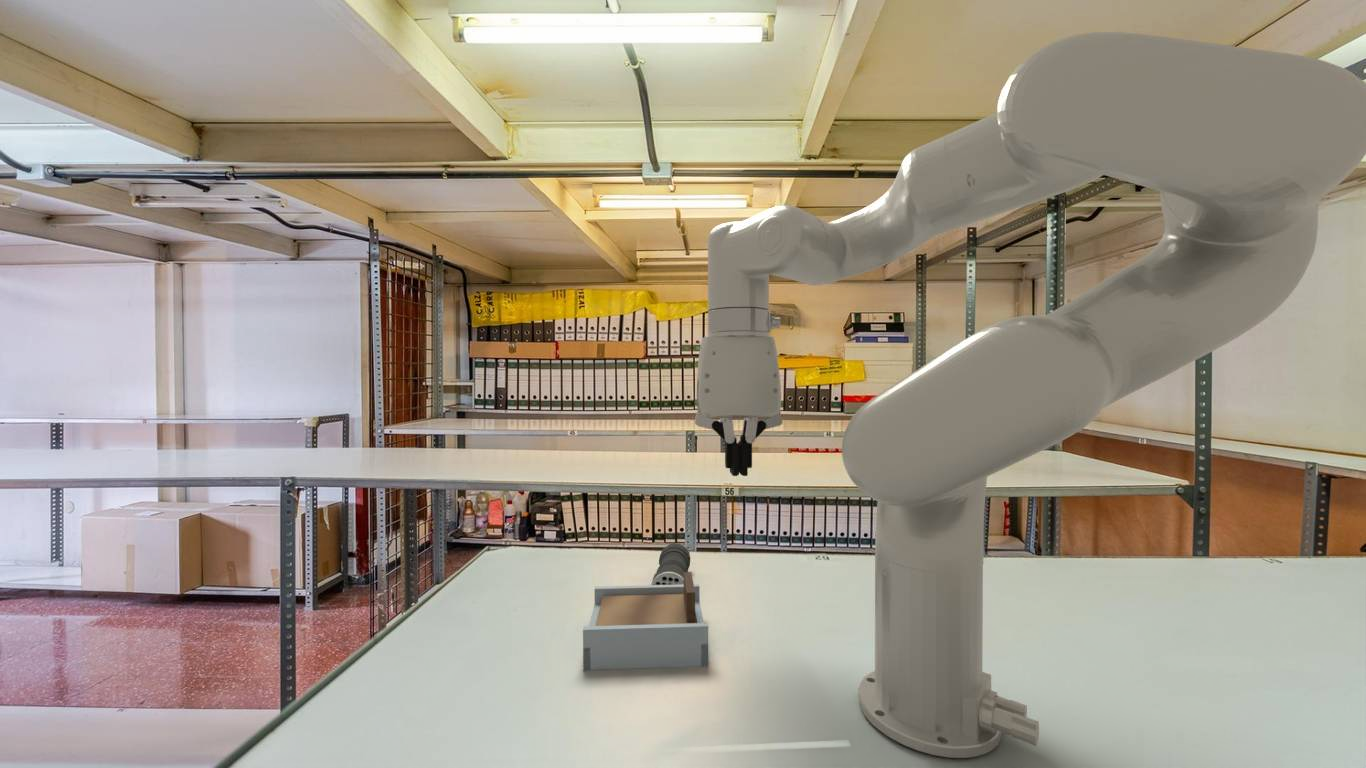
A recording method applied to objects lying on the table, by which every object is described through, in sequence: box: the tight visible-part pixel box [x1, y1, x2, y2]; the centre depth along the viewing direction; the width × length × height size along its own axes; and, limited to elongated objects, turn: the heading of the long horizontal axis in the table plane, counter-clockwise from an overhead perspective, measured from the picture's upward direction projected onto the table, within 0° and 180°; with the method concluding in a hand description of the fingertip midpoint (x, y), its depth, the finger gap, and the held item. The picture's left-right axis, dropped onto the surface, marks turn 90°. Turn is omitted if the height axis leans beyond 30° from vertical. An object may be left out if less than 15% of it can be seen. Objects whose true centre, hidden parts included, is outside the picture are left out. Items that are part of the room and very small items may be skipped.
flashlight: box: [650, 542, 691, 585], centre depth 82 cm, size 15×5×5 cm, turn 178°
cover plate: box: [596, 571, 697, 626], centre depth 64 cm, size 12×10×5 cm
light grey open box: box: [582, 583, 709, 671], centre depth 64 cm, size 14×12×5 cm
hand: (738, 473), depth 65 cm, fingers closed
